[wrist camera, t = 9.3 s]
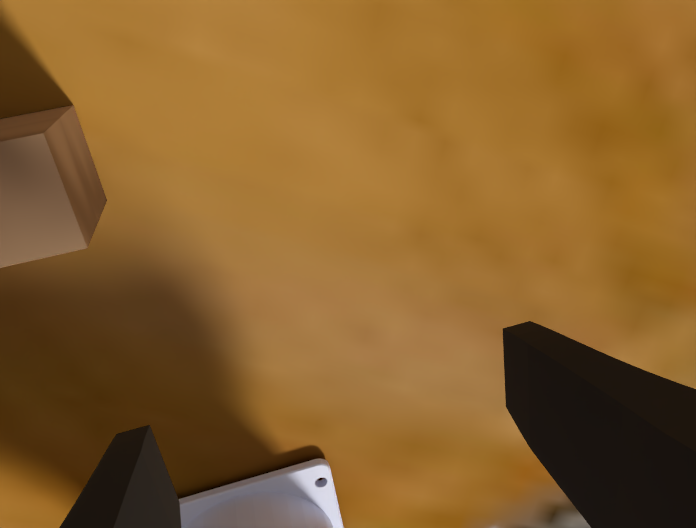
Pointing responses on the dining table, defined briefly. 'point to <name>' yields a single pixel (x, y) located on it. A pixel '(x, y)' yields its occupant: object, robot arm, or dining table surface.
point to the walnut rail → (46, 186)
